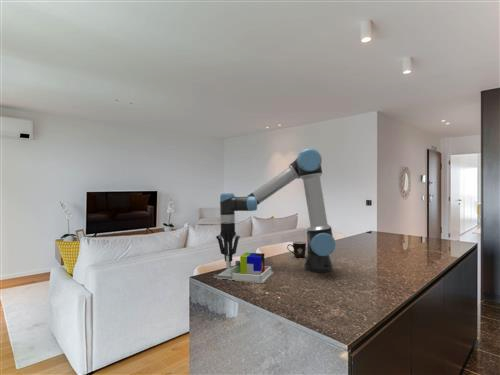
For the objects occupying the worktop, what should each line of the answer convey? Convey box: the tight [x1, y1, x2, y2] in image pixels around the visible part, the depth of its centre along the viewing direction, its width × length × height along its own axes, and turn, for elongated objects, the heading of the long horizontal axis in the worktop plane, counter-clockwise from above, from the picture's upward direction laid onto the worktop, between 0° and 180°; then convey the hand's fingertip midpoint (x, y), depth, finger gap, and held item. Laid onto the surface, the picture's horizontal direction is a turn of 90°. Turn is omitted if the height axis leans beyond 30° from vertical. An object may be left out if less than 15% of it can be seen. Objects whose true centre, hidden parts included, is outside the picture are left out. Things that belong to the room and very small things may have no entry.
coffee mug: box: [286, 241, 307, 259], centre depth 185 cm, size 12×9×10 cm
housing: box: [213, 265, 275, 284], centre depth 144 cm, size 26×19×3 cm
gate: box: [231, 260, 240, 276], centre depth 146 cm, size 2×17×6 cm, turn 160°
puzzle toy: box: [239, 252, 266, 275], centre depth 143 cm, size 10×10×10 cm
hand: (228, 267), depth 148 cm, fingers closed
